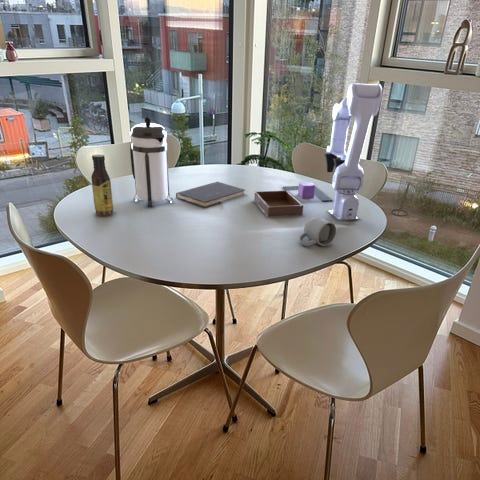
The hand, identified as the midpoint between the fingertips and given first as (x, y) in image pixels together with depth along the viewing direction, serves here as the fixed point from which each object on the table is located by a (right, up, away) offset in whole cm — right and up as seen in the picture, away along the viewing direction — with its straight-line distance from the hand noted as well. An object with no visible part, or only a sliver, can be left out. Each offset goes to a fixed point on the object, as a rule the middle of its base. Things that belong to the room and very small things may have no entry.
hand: (333, 174), depth 183 cm
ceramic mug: (-13, -33, -35) cm, 50 cm away
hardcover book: (-49, -9, +1) cm, 50 cm away
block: (-11, -7, +4) cm, 14 cm away
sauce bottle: (-85, -20, -20) cm, 90 cm away
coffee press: (-72, -12, -6) cm, 73 cm away
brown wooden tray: (-23, -16, -9) cm, 29 cm away
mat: (-10, -6, +8) cm, 14 cm away
